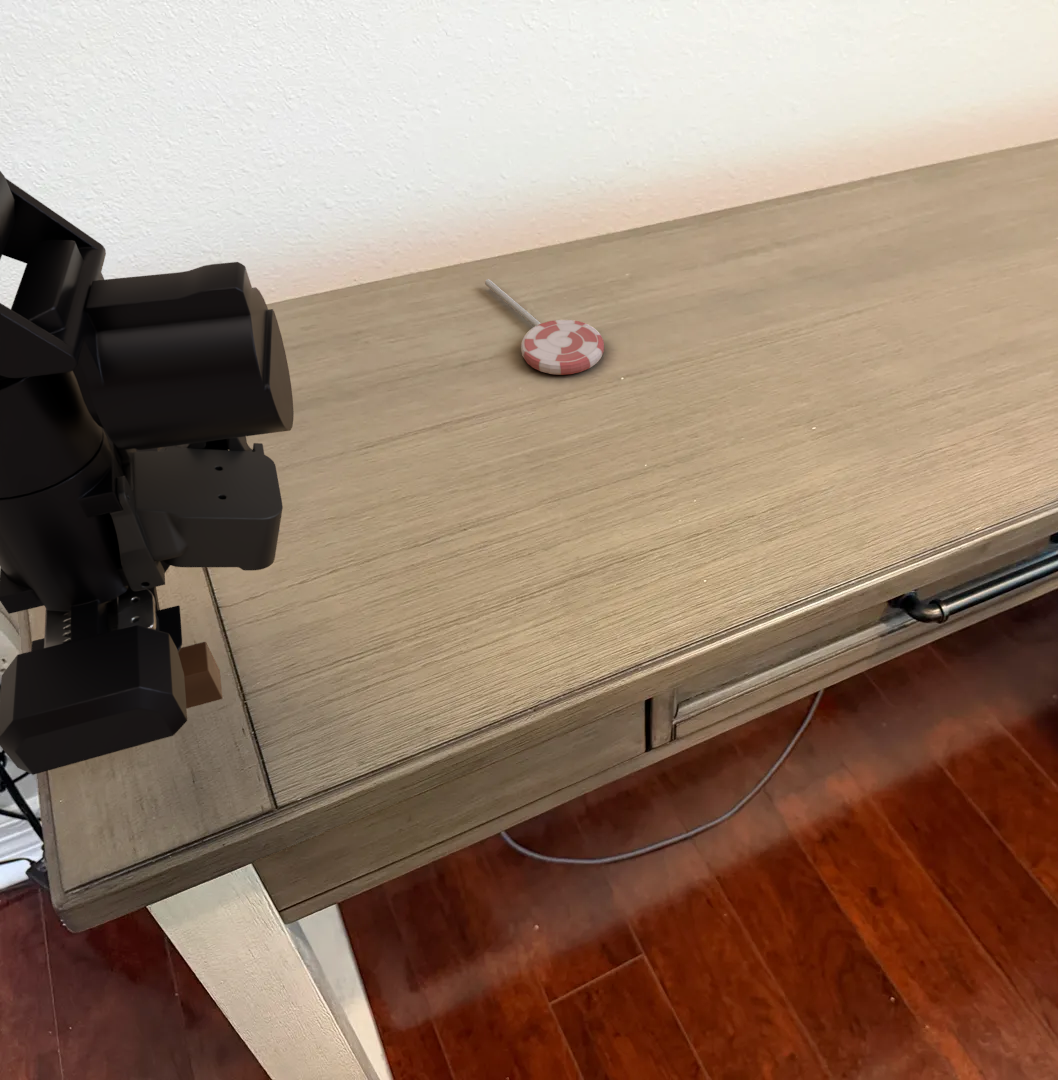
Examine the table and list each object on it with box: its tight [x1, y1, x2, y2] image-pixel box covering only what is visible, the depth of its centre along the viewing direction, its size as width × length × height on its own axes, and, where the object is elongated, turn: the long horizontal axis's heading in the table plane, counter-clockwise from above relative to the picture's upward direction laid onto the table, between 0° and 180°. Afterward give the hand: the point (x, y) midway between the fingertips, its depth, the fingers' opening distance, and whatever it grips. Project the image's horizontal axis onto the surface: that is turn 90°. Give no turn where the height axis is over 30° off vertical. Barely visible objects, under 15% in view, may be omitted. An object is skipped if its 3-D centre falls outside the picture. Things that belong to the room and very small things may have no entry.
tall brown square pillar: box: [178, 641, 223, 709], centre depth 52 cm, size 2×5×2 cm, turn 113°
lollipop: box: [484, 278, 605, 376], centre depth 85 cm, size 7×1×15 cm
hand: (158, 688), depth 52 cm, fingers closed on tall brown square pillar, 2 cm apart
